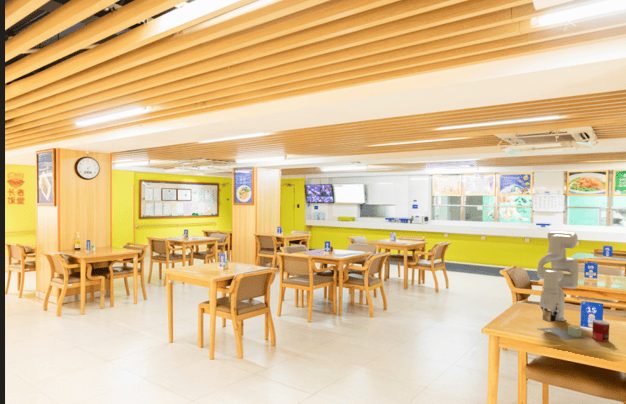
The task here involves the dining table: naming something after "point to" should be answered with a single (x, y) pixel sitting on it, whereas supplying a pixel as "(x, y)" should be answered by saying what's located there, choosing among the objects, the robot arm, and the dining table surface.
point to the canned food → (600, 330)
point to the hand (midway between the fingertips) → (549, 319)
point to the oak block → (547, 315)
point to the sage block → (575, 331)
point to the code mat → (559, 333)
